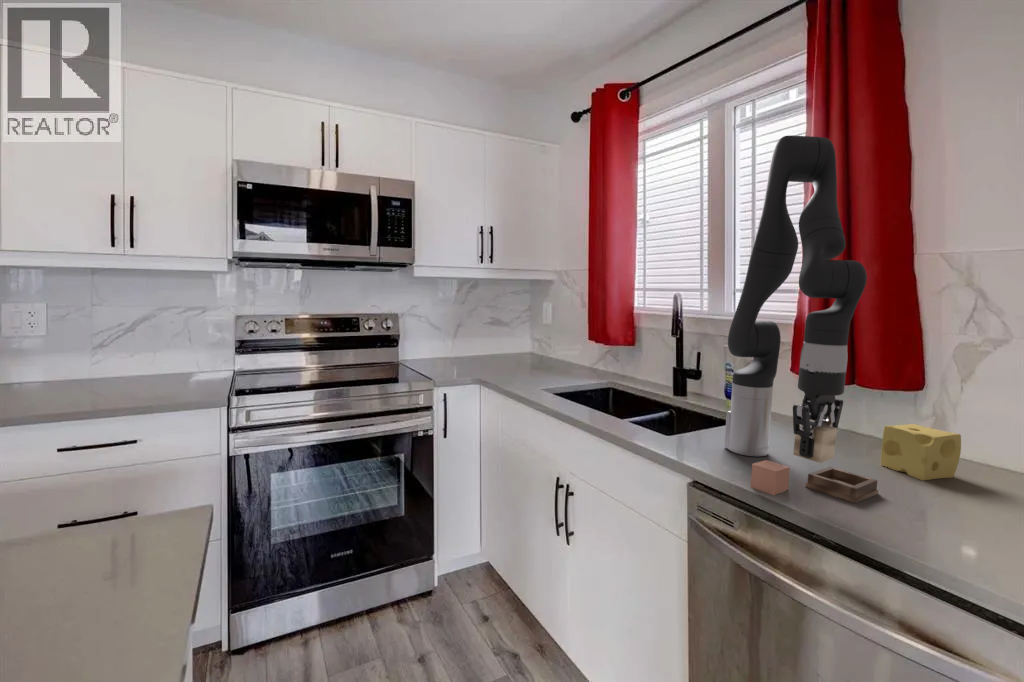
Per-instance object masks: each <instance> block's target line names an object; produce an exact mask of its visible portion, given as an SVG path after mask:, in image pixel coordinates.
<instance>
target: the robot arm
mask: <svg viewBox="0 0 1024 682" xmlns="http://www.w3.org/2000/svg"><path fill="white" fill-rule="evenodd" d="M837 180H838V179H837V160H836V150H835V146H834V144H833V142H832V141H831V139H829V138H828V137H823V136H810V135H807V136H806V135H784V136H782V137H781V138H780V139H778V141H777V143H776V145H775V147H774V148H773V152H772V156H771V159H770V164H769V169H768V175H767V182H766V189H765V194H764V201H763V205H762V209H761V210H762V211H761V214H760V219H759V223H758V226H757V230H756V232H755V233H756V234H755V238H754V241H753V246H752V249H751V252H750V257H749V261H748V265H747V266H748V267H747V272H746V275H745V280H744V284H743V287H742V291H741V294H740V297H739V300H738V304H737V306H736V310H735V312H734V314H733V318H732V321H731V324H730V328H729V331H728V335H727V347H728V350H729V352H730V354H731V355H732V356H734V357H737V358H753V360H752V361H751V362H750V364H748V365H747V366H745V367H742V368H740V369H737V370H735V371H734V372H733V374H732V380H731V381H732V386H731V397H730V398H731V399H730V410H728V411H726V419H725V431H724V432H725V433H724V449H728V450H729V451H730V452H732V453H734V454H736V455H737V454H738V455H742V456H748V457H765V456H767V455H768V452H769V443H770V442H769V441H770V430H771V417H772V416H771V415H772V405H773V404H772V403H773V391H774V389H773V388H774V381H775V377H776V375H777V371H778V363H779V357H780V356H779V355H780V350H781V341H782V340H781V331H780V327H779V326H778V324H777V323H776V322H774V321H772V320H764V319H763V320H758V319H757V318H758V315H759V313H760V311H761V309H762V307H763V306H764V304H765V303H766V301H768V299H769V298H770V297H771V296H772V295H773V294H774V293H775V292H776V291H777V290H778V289H779V288H780V287H781V285H783V284H784V283H785V281H786V280H787V279H788V278H789V276H790V275H791V273H792V271H793V270H792V269H794V264H795V260H796V257H797V253H798V249H799V238H800V241H801V246H802V261H801V267H800V271H799V272H800V273H799V276H798V286H799V290H800V291H801V293H803V294H804V295H805V296H806V297H808V298H812V299H835V300H834V302H833V303H832V305H831V306H830V307H829V308H826V309H822V310H816V311H815V310H814V311H811V312H809V313H808V314H807V315H806V319H805V324H804V325H805V326H804V333H803V336H804V337H803V343H802V344H803V345H802V347H801V352H800V360H799V370H798V381H797V388H798V389H799V390H800V391H801V392H803V394H804V396H803V399H802V403H801V404H799V405H798V404H793V406H792V420H793V421H792V425H793V434H794V435H795V434H796V435H799V436H801V441H800V451H799V454H800V455H801V456H803V457H806V458H811V457H813V450H814V440H815V439H814V438H815V435H816V430H817V429H818V428H820V427H821V424H823V425H827V426H831V427H835V428H837V429H839V423H840V419H841V414H842V412H843V411H842V410H843V406H844V400H843V399H839V398H836V396H841V395H844V393H845V388H846V387H845V386H846V385H845V384H846V378H847V377H846V375H847V367H848V355H849V354H848V342H849V335H850V326H851V321H852V318H853V316H854V314H855V311H856V310H857V306H858V304H859V301H860V299H861V297H862V295H863V293H864V290H865V288H866V285H867V281H868V280H867V279H868V275H867V270H866V269H865V266H864V265H863V264H862V263H861V262H859V261H857V260H851V259H835V258H837V257H838V256H840V255H841V254H843V252H844V251H845V249H846V246H847V245H846V244H847V243H846V236H845V233H844V229H843V226H842V221H841V218H840V214H839V208H838V194H837V193H838V192H837V191H838V188H837V187H838V186H837V184H838V182H837ZM789 182H790V183H791V182H793V183H794V182H795V183H810V184H811V185H812V186H813V189H814V192H813V194H812V196H811V197H810V199H809V200H808V202H807V203H806V204H805V206H804V208H803V209H802V211H801V213H800V215H799V219H798V231H799V236H800V237H799V238H798V236H797V232H796V229H795V227H794V224H793V221H792V219H791V216H790V214H789V211H788V206H787V192H788V191H787V189H788V185H789ZM799 424H800V425H801V426H800V427H799ZM810 426H812V427H811V431H810ZM806 458H805V459H806Z"/></svg>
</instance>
